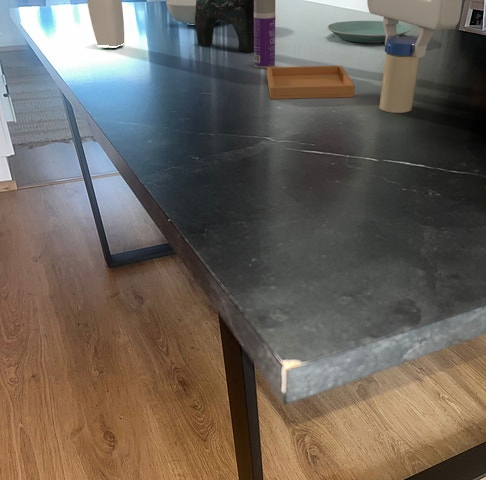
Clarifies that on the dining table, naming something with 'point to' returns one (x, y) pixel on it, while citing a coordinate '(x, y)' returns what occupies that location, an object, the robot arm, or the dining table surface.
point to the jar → (399, 83)
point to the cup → (107, 21)
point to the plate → (364, 31)
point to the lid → (400, 45)
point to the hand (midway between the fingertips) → (403, 51)
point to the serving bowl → (183, 10)
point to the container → (264, 33)
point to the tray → (309, 82)
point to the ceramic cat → (226, 20)
